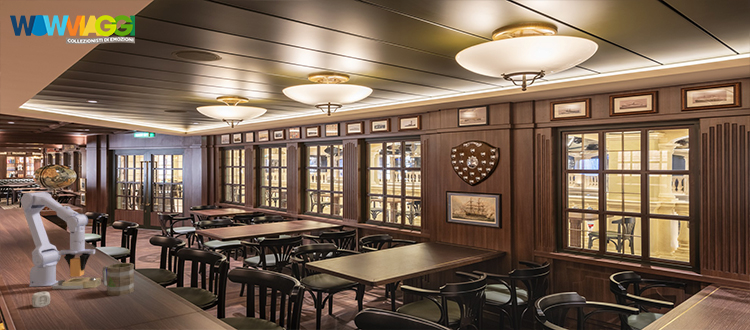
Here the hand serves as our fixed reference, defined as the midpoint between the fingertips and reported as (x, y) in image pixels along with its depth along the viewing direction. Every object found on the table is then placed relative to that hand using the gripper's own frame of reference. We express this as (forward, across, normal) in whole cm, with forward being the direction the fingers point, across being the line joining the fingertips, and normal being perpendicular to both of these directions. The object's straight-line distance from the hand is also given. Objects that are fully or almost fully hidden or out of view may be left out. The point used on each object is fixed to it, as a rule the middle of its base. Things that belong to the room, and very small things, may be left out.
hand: (77, 269), depth 204 cm
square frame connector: (+8, 0, 0) cm, 8 cm away
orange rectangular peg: (+2, 0, 0) cm, 3 cm away
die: (+8, -1, -27) cm, 28 cm away
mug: (+8, +21, -11) cm, 25 cm away
